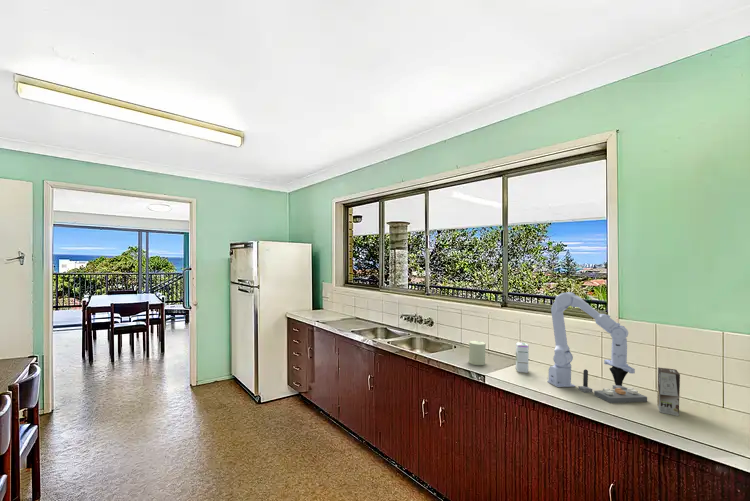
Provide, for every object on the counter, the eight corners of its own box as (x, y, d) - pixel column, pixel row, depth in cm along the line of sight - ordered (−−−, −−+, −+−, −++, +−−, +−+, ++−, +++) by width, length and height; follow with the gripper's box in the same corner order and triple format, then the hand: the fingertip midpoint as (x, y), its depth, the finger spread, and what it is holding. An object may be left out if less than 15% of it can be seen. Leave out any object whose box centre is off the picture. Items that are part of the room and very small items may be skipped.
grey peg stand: (584, 392, 170) (585, 370, 170) (578, 389, 174) (578, 368, 174) (592, 392, 171) (592, 370, 171) (586, 389, 175) (586, 368, 175)
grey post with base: (619, 391, 173) (619, 370, 174) (612, 388, 177) (612, 367, 177) (627, 391, 174) (627, 370, 174) (620, 388, 178) (620, 367, 178)
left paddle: (608, 394, 162) (608, 391, 162) (602, 392, 165) (603, 388, 165) (613, 394, 162) (613, 390, 162) (607, 392, 165) (607, 388, 165)
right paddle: (632, 394, 164) (633, 390, 164) (626, 391, 167) (626, 387, 167) (637, 393, 164) (637, 390, 164) (631, 391, 167) (631, 387, 167)
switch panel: (610, 403, 158) (610, 398, 158) (594, 395, 167) (594, 390, 167) (647, 401, 161) (647, 396, 161) (629, 394, 170) (629, 389, 170)
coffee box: (679, 416, 146) (680, 374, 147) (659, 412, 150) (659, 371, 150) (676, 409, 154) (677, 369, 154) (656, 405, 158) (657, 366, 158)
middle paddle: (620, 394, 163) (620, 390, 163) (614, 391, 166) (615, 388, 166) (625, 394, 163) (625, 390, 163) (619, 391, 166) (619, 388, 166)
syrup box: (528, 373, 198) (529, 345, 198) (516, 371, 199) (517, 344, 199) (526, 369, 203) (527, 342, 203) (515, 368, 204) (515, 342, 205)
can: (487, 362, 215) (487, 341, 215) (482, 366, 207) (483, 344, 208) (471, 359, 220) (472, 339, 220) (466, 363, 212) (466, 341, 212)
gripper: (641, 358, 159) (640, 390, 159) (614, 349, 173) (613, 379, 173) (626, 358, 158) (625, 391, 158) (600, 349, 172) (599, 379, 172)
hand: (618, 385), depth 165 cm, fingers closed
